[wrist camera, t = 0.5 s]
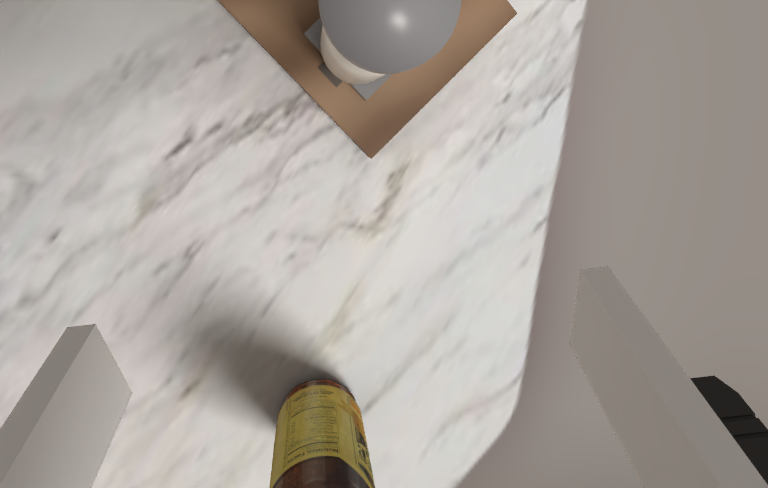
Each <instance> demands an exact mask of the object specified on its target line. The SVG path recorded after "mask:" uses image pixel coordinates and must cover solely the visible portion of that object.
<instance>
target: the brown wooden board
mask: <svg viewBox="0 0 768 488" xmlns="http://www.w3.org/2000/svg"><path fill="white" fill-rule="evenodd" d="M218 1H219V2H220V3H221V4H222V5H223V6H224V7H225V8H226V9H227V10H228V11H229V13H230V14H231V15H232V16H233V17H234V18H235V19H236V20H237V21H238V22H239V23H240V24H241V25H242V26H243V27H244V28H245V29H246V30H247V31H248V32H249V33H250V34H251V35H252V36H253V37H254V38H255V40H256V41H257V42H258V43H259V44H260V45H261V46H262V47H263V48H264V49H265V50H266V51H267V52H268V53H269V54H270V55H271V56H272V57H273V58H274V59H275V60H276V61H277V62H278V63H279V64H280V65H281V66H282V68H283V69H284V70H285V71H286V72H287V73H288V74H289V75H290V76H291V77H292V78H293V79H294V80H295V81H296V82H297V83H298V84H299V85H300V86H301V87H302V88H303V89H304V90H305V91H306V92H307V93H308V95H309V96H310V97H311V98H312V99H313V100H314V101H315V102H316V103H317V104H318V105H319V106H320V107H321V108H322V109H323V110H324V111H325V112H326V113H327V114H328V115H329V116H330V117H331V118H332V119H333V120H334V122H335V123H336V124H337V125H338V126H339V127H340V128H341V129H342V130H343V131H344V132H345V133H346V134H347V135H348V136H349V137H350V138H351V139H352V140H353V141H354V142H355V143H356V144H357V145H358V146H359V147H360V148H361V150H362V151H363V152H364V153H365V154H366V155H367V156H368V157H370V158H371V159H372V158H373V157H374V156H375V155H376V154H377V153H378V152H379V151H380V150H381V149H382V148H383V147H384V146H385V145H386V144H387V143H388V142H389V141H390V140H391V139H392V138H393V137H394V136H395V135H396V134H397V133H398V132H399V131H400V130H401V129H402V128H403V127H404V126H405V125H406V124H407V123H408V122H409V121H410V120H411V119H412V118H413V117H414V116H415V115H416V114H417V113H418V112H419V111H420V110H421V109H422V108H423V107H424V106H425V105H426V104H427V103H428V102H429V101H430V100H431V99H432V98H433V97H434V96H435V95H436V94H437V93H438V92H439V91H440V90H441V89H442V88H443V87H444V86H445V85H446V84H447V83H448V82H449V81H450V80H451V79H452V78H453V77H454V76H455V75H456V74H457V73H458V72H459V71H460V70H461V69H462V68H463V67H464V66H465V65H466V64H467V63H468V62H469V61H470V60H471V59H472V58H473V57H474V56H475V55H476V54H477V53H478V52H479V51H480V50H481V49H482V48H483V47H484V46H485V45H486V44H487V43H488V42H489V41H490V40H491V39H492V38H493V37H494V36H495V35H496V34H497V33H498V32H499V31H500V30H501V29H502V28H503V27H504V26H505V25H506V24H507V23H508V22H509V21H510V20H511V19H512V18H513V17H514V16H515V15H516V14H517V12H516V11H515V10H514V9H513V7H512V6H511V5H510V3H509V2H508V1H507V0H461V8H460V13H459V18H458V21H457V24H456V26H455V29H454V31H453V33H452V35H451V37H450V38H449V40H448V41H447V43H446V44H445V45H444V47H443V48H442V49H441V50H440V51H439V52H438V53H437V54H436V55H435V56H434V57H432V58H431V59H430V60H428V61H427V62H425V63H423V64H421V65H419V66H417V67H415V68H413V69H411V70H408V71H405V72H401V73H396V74H392V75H391V76H390V77H389V78H388V79H387V80H386V81H385V82H384V83H383V84H382V85H381V86H380V87H379V89H378V90H377V91H376V92H375V93H374V94H373V95H372V96H371V97H370V98H369V99H368V100H367V101H365V100H364V99H363V98H362V97H361V96H360V95H359V94H358V93H357V92H356V91H355V90H354V89H353V88H352V86H351V85H350V84H349V83H347V82H344V81H342V80H340V79H339V78H337V77H336V76H335V75H334V74H333V73H331V71H330V70H329V69H328V67H327V66H326V64H325V62H324V60H323V57H322V54H321V53H320V52H319V51H318V50H317V49H316V48H315V47H314V46H313V44H312V43H311V42H310V41H309V40H308V39H307V38H306V37H305V35H304V33H305V32H306V31H307V30H308V29H309V28H310V27H311V26H312V25H313V24H314V23H315V22H316V21H317V20H318V19H319V18H320V12H319V3H318V0H218Z"/></svg>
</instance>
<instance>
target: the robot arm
mask: <svg viewBox="0 0 768 488" xmlns="http://www.w3.org/2000/svg"><path fill="white" fill-rule="evenodd" d="M569 344H570V346H571V348H572V350H573V352H574V353H575V356H576V358H577V360H578V361H579V364H580V365H581V367H582V369H583V371H584V373H585V375H586V377H587V379H588V381H589V383H590V385H591V387H592V389H593V391H594V393H595V395H596V397H597V399H598V401H599V403H600V404H601V406H602V408H603V410H604V412H605V414H606V416H607V418H608V420H609V422H610V424H611V426H612V428H613V430H614V432H615V434H616V436H617V438H618V440H619V442H620V444H621V445H622V447H623V449H624V451H625V453H626V455H627V457H628V459H629V461H630V463H631V465H632V467H633V469H634V471H635V473H636V475H637V477H638V479H639V481H640V483H641V485H642V486H643V488H768V429H767V428H766V427H765V426H764V424H763V423H762V422H761V421H760V420H759V418H756V417H755V413H754V412H753V411H752V410H751V408H750V407H749V406H748V405H747V403H746V402H745V401H744V400H743V399H742V397H741V396H740V395H739V393H737V392H736V391H735V390H733V389H732V388H731V387H729V386H728V385H726V384H725V383H724V382H722V381H721V380H719V379H718V378H717V377H715V376H708V377H700V378H689V376H688V375H687V374H686V372H685V371H684V370H683V368H682V367H681V366H680V364H679V363H678V361H677V360H676V359H675V357H674V356H673V355H672V353H671V352H670V350H669V349H668V348H667V346H666V345H665V343H664V342H663V341H662V339H661V338H660V337H659V335H658V334H657V333H656V331H655V330H654V328H653V327H652V326H651V324H650V323H649V322H648V320H647V319H646V317H645V316H644V315H643V313H642V312H641V311H640V309H639V308H638V306H637V305H636V304H635V303H634V301H633V300H632V298H631V297H630V296H629V294H628V293H627V291H626V290H625V289H624V287H623V286H622V285H621V283H620V282H619V280H618V279H617V278H616V276H615V275H614V274H613V272H612V271H611V269H610V268H609V267H608V266H607V267H598V268H589V269H581V270H580V273H579V280H578V287H577V294H576V300H575V307H574V314H573V321H572V328H571V335H570V343H569ZM131 395H132V391H131V389H130V387H129V386H128V384H127V382H126V380H125V378H124V376H123V374H122V372H121V371H120V369H119V367H118V365H117V363H116V361H115V359H114V358H113V356H112V354H111V352H110V350H109V348H108V346H107V345H106V343H105V341H104V339H103V337H102V335H101V333H100V331H99V330H98V328H97V326H96V324H92V325H84V326H75V327H67V328H66V330H65V332H64V333H63V335H62V336H61V338H60V339H59V341H58V342H57V344H56V345H55V347H54V348H53V350H52V351H51V353H50V354H49V356H48V357H47V359H46V360H45V362H44V363H43V365H42V367H41V368H40V370H39V371H38V373H37V374H36V376H35V377H34V379H33V380H32V382H31V383H30V385H29V386H28V388H27V389H26V391H25V392H24V394H23V395H22V397H21V398H20V400H19V401H18V403H17V405H16V406H15V408H14V409H13V411H12V412H11V414H10V415H9V417H8V418H7V420H6V421H5V423H4V424H3V426H2V427H1V429H0V488H91V487H92V485H93V482H94V480H95V478H96V476H97V473H98V471H99V469H100V466H101V464H102V462H103V460H104V457H105V455H106V453H107V450H108V448H109V446H110V443H111V441H112V439H113V437H114V434H115V432H116V430H117V427H118V425H119V423H120V420H121V418H122V416H123V414H124V411H125V409H126V407H127V404H128V402H129V400H130V397H131Z"/></svg>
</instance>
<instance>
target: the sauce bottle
mask: <svg viewBox="0 0 768 488" xmlns="http://www.w3.org/2000/svg"><path fill="white" fill-rule="evenodd" d="M270 488H375V485H374V480H373V474H372V469H371V463H370V459H369V452H368V448H367V442H366V437H365V432H364V427H363V422H362V416H361V412H360V409H359V407H358V405H357V403H356V402H355V398H354V396H353V395H352V393H350V392H349V391H348V390H347V389H346V388H344V387H343V386H341V385H339V384H337V383H335V382H333V381H330V380H325V379H324V380H313V381H309V382H305V383H304V384H300V385H298V386H296V387H295V388H294V389H293V390H292V391H291V392H290V393H289V394H288V395H287V397H286V399H285V401H284V403H283V405H282V408H281V409H280V412H279V415H278V421H277V426H276V434H275V443H274V452H273V461H272V471H271V480H270Z"/></svg>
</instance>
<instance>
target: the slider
mask: <svg viewBox="0 0 768 488" xmlns="http://www.w3.org/2000/svg"><path fill="white" fill-rule="evenodd" d="M318 3H319V12H320V18H319V19H318V20H317V21H316V22H315V23H314V24H313V25H312V26H311V27H310V28H309V29H308V30H307V31H306V32H305V33H304V35H305V37H306V38H307V39H308V40H309V41H310V42H311V43H312V44H313V46H314V47H315V48H316V49H317V50H318V51H319V52H320V53H321V54H322V57H323V60H324V62H325V64H326V66H327V67H328V69H329V70H330V71H331V73H333V74H334V75H335V76H336V77H337V78H339V79H340V80H342V81H344V82H347V83H349V84H350V85H351V86H352V88H353V89H354V90H355V91H356V92H357V93H358V94H359V95H360V96H361V97H362V98H363V99H364V100H365V101H367V100H368V99H369V98H370V97H371V96H372V95H373V94H374V93H375V92H376V91H377V90H378V89H379V87H380V86H381V85H382V84H383V83H384V82H385V81H386V80H387V79H388V78H389V77H390V76H391V75H392V74H396V73H401V72H405V71H408V70H411V69H413V68H415V67H417V66H419V65H421V64H423V63H425V62H427V61H428V60H430V59H431V58H432V57H434V56H435V55H436V54H437V53H438V52H439V51H440V50H441V49H442V48H443V47H444V45H445V44H446V43H447V41H448V40H449V38H450V37H451V35H452V33H453V31H454V29H455V26H456V24H457V21H458V18H459V13H460V8H461V0H318Z"/></svg>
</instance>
